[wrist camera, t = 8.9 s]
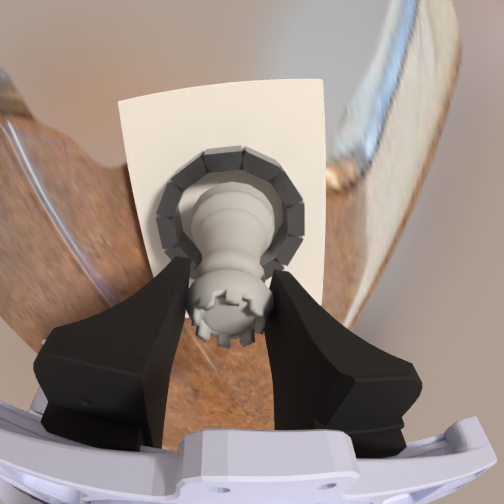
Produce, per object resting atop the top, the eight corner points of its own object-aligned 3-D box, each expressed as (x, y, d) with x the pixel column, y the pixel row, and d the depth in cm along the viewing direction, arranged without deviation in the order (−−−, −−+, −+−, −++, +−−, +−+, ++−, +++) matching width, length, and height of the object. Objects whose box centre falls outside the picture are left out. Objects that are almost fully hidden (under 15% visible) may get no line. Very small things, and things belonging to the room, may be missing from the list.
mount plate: (318, 297, 24) (321, 305, 23) (167, 310, 24) (165, 319, 23) (318, 79, 16) (322, 79, 15) (123, 101, 16) (118, 101, 15)
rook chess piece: (287, 195, 16) (318, 297, 10) (254, 260, 19) (262, 372, 12) (207, 166, 15) (180, 254, 9) (183, 236, 17) (153, 346, 11)
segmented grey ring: (298, 265, 21) (304, 281, 19) (177, 276, 21) (173, 292, 19) (295, 141, 17) (302, 146, 15) (154, 156, 17) (145, 163, 15)
